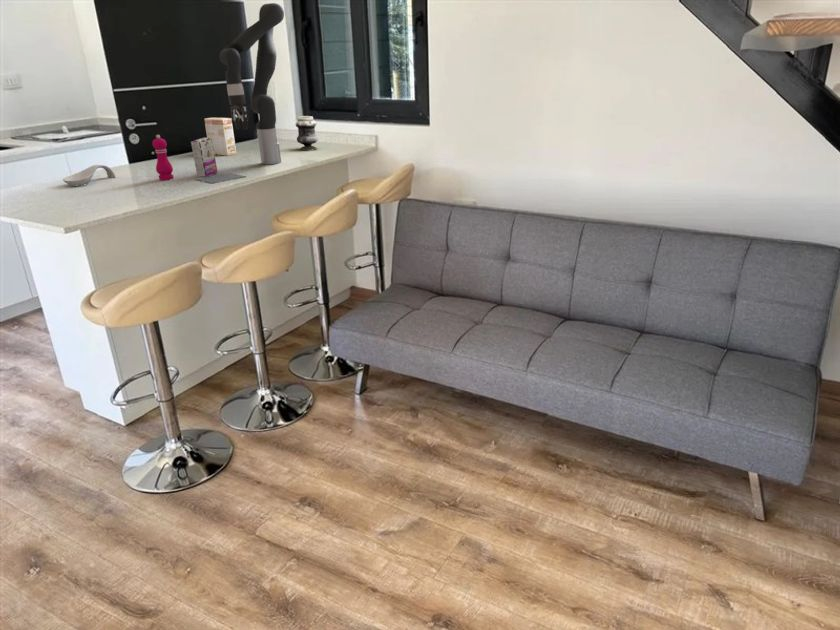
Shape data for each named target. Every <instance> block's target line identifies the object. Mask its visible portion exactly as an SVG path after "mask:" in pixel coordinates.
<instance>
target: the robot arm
mask: <svg viewBox="0 0 840 630" xmlns="http://www.w3.org/2000/svg"><path fill="white" fill-rule="evenodd" d="M258 12H259V13H258V21H256V22H255V23H253V24H252V25H250V26H249V27H247V28H245V29H244V30H243V31H242V32H241V33H240V34H239V35H238V36H237V37H236V38H235V39H234V40H233V41H231V43H229V44H228V45H226V46H225V47H224V48H223V49H222V50H221V51H220V53H219V60H220V62H221V63H222V64H223V65H225V66H227V70H226V72H224V73H225V81H226V90H227V96H228V101H229V105H230V106H231V107H230V115H231V119H232V121H234V125H235V129H236V130H241V128H242V127H243V128H242V129H243V130H249V123H248V121H250V114H249V109H248V107H247V106H244V105H245V104H247V103H246V96H245V90H244V86H243V83H242V82H243V81H242V76H241V68H242V66H241V65H242V62H241V61H242V60H241V55H243V54H245V53H247V52H248V51H249V50H250V49H251V48H252V47H253V46H254V44H256V43H257V42H258V43H257V51H256V60H255V61H256V62H255V72H254V81H253V82H254V83H253V88H252V94H251V98H250V107H251V110H252V111H253V112H254V113H255V114H257V115H259V116H258V117H259V120H258V121H257V122H256V132H257V140H258V147H259V154H260V162H261V163H260V164H262V165H276V164H279V163H282V158H281V150H280V149H281V148H280V142H278V136H277V130H276V124H277V114H276V103H275V101H274V99H273V98H272V96H270V95H269V94H268V88H269V85H270V81H271V80H272V77H273V76H274V72H275V70H276V65H277V51H276V46H275V43H274V36H273V35H274V27H275V26H277V25H279V24H280V23H282V22H283V20H284V17H285V10H284V8H283V6H282V5H280V4H279V3H276V2H271V3H270V2H269V3H264V4H262V5H261V6H260V8H259V11H258ZM240 119H241V121H242V127H241V121H240Z"/></svg>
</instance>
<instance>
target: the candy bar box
mask: <svg viewBox="0 0 840 630" xmlns="http://www.w3.org/2000/svg"><path fill="white" fill-rule="evenodd" d="M190 145H191V150H192V155H193V159H194V160H193V161H194V165H195V171H196V176H197V178H198V177H199V178H205V177H206V176H207V177H210V176H212V175H214V174H217V173H218V168H217V167H218V166H217V162H216V157H215V156H216V154H214V149H213V144H212V138H207V137H202V138H198V139H195V140H193V141H190ZM216 172H217V173H216ZM211 174H212V175H211ZM209 175H210V176H209ZM204 176H205V177H204Z"/></svg>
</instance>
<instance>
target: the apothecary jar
mask: <svg viewBox="0 0 840 630" xmlns="http://www.w3.org/2000/svg"><path fill="white" fill-rule="evenodd" d="M295 126H296V128H297V131H298V135H297V137H296V141H297V143H299V144H301V145H303V146H301V147H300V148H299V150H300V151H313V150H312V149H315V150H317V149H316V148H317V147H316V146H315V145H314V144H316V143H317V142H318V141H319V140H318V139H319V138H318V136H317V134H316V129H315V128H316V126H317V121H315V120H314V117H313V115H312V116H310V115H302V116H298V117H297V120H296V121H295Z"/></svg>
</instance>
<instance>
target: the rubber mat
mask: <svg viewBox="0 0 840 630" xmlns="http://www.w3.org/2000/svg"><path fill="white" fill-rule="evenodd" d="M242 177H243V178H247V175H244V174H243V175H241V174H237V173H232V172H228V173H222V174H218V175H217V174H216V175H210V176H207V177H199V178H195V179H194V180H195V181H198V180H199V182H202V181H204V182H203V183H207V182H208V184H211V183H212V184H216V183H215V182H217V183H221V182H220V181H222V182H226V181H225V180H227V181H231V180H230V179H233V180H237V178H238V179H242Z"/></svg>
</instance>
